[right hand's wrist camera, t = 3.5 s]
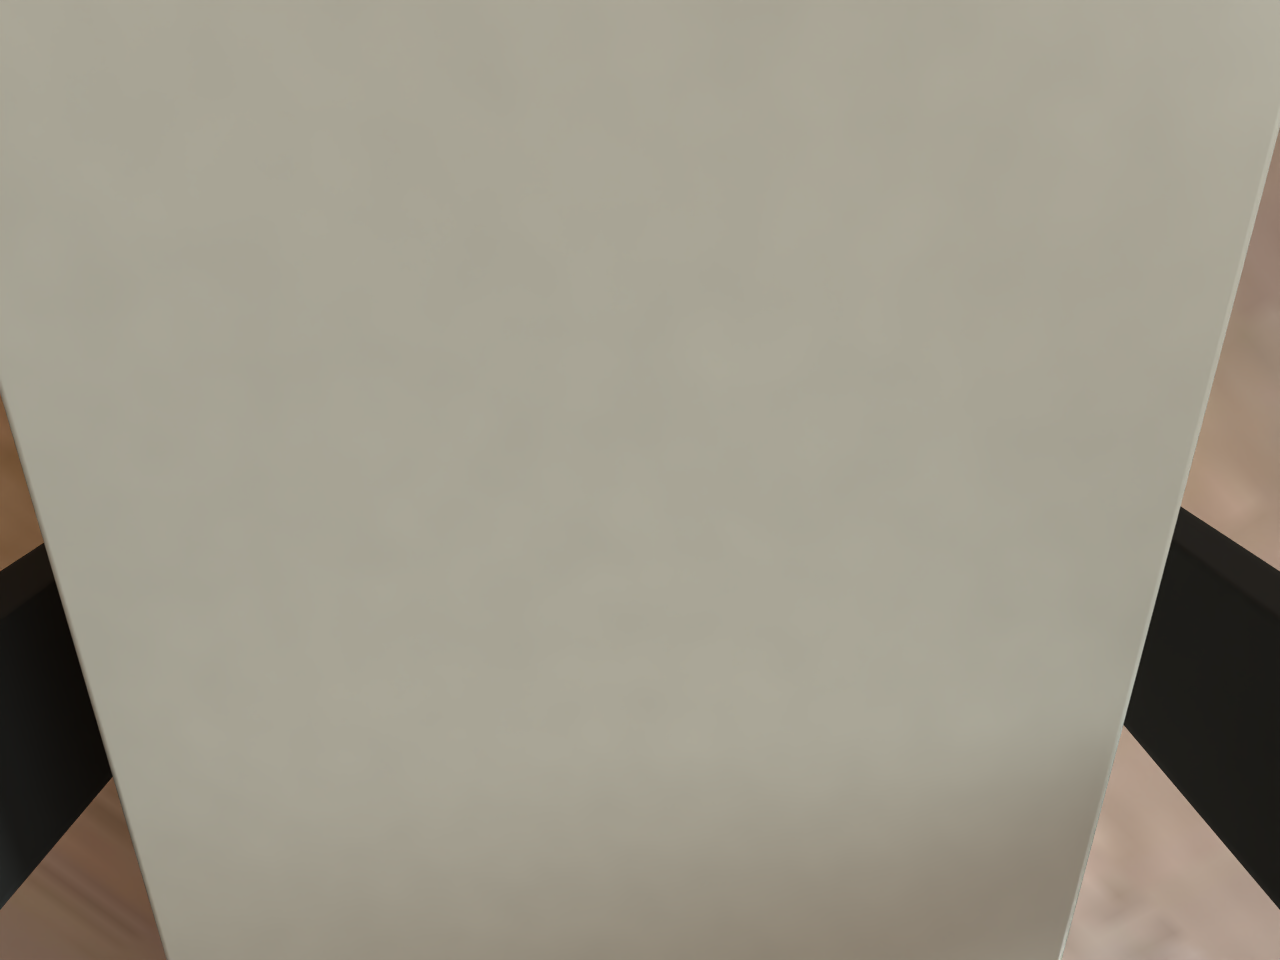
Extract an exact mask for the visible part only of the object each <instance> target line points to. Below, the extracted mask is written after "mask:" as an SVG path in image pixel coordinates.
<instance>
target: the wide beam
mask: <svg viewBox="0 0 1280 960" xmlns="http://www.w3.org/2000/svg"><path fill="white" fill-rule="evenodd" d="M1279 128H1280V0H0V394H1V398H2V401H3V404H4V408H5V411H6V415H7V418H8V421H9V425H10V428H11V432H12V435H13V438H14V442H15V445H16V449H17V452H18V455H19V459H20V462H21V466H22V469H23V472H24V476H25V479H26V483H27V486H28V489H29V493H30V496H31V500H32V503H33V506H34V510H35V513H36V517H37V520H38V523H39V527H40V530H41V534H42V537H43V540H44V544H45V547H46V551H47V554H48V557H49V561H50V564H51V568H52V571H53V574H54V578H55V581H56V585H57V588H58V591H59V595H60V598H61V602H62V605H63V608H64V612H65V615H66V619H67V622H68V626H69V629H70V632H71V636H72V639H73V643H74V646H75V649H76V653H77V656H78V660H79V663H80V666H81V670H82V673H83V677H84V680H85V683H86V687H87V690H88V694H89V697H90V700H91V704H92V707H93V711H94V714H95V717H96V721H97V724H98V728H99V731H100V734H101V738H102V741H103V745H104V748H105V751H106V755H107V758H108V762H109V765H110V768H111V772H112V775H113V779H114V782H115V785H116V789H117V792H118V796H119V799H120V802H121V806H122V809H123V813H124V816H125V819H126V823H127V826H128V830H129V833H130V836H131V840H132V843H133V847H134V850H135V853H136V857H137V860H138V864H139V867H140V870H141V874H142V877H143V881H144V884H145V887H146V891H147V894H148V898H149V901H150V904H151V908H152V911H153V915H154V918H155V921H156V925H157V928H158V932H159V935H160V939H161V942H162V945H163V949H164V952H165V956H166V959H167V960H1062V957H1063V953H1064V949H1065V945H1066V941H1067V938H1068V934H1069V930H1070V926H1071V922H1072V918H1073V915H1074V911H1075V907H1076V903H1077V899H1078V896H1079V892H1080V888H1081V884H1082V880H1083V876H1084V873H1085V869H1086V865H1087V861H1088V857H1089V854H1090V850H1091V846H1092V842H1093V838H1094V834H1095V831H1096V827H1097V823H1098V819H1099V815H1100V812H1101V808H1102V804H1103V800H1104V796H1105V792H1106V789H1107V785H1108V781H1109V777H1110V773H1111V770H1112V766H1113V762H1114V758H1115V754H1116V750H1117V747H1118V743H1119V739H1120V735H1121V731H1122V727H1123V724H1124V720H1125V716H1126V712H1127V708H1128V705H1129V701H1130V697H1131V693H1132V689H1133V685H1134V682H1135V678H1136V674H1137V670H1138V666H1139V663H1140V659H1141V655H1142V651H1143V647H1144V643H1145V640H1146V636H1147V632H1148V628H1149V624H1150V621H1151V617H1152V613H1153V609H1154V605H1155V601H1156V598H1157V594H1158V590H1159V586H1160V582H1161V578H1162V575H1163V571H1164V567H1165V563H1166V559H1167V556H1168V552H1169V548H1170V544H1171V540H1172V536H1173V533H1174V529H1175V525H1176V521H1177V517H1178V514H1179V510H1180V506H1181V502H1182V498H1183V494H1184V491H1185V487H1186V483H1187V479H1188V475H1189V472H1190V468H1191V464H1192V460H1193V456H1194V452H1195V449H1196V445H1197V441H1198V437H1199V433H1200V430H1201V426H1202V422H1203V418H1204V414H1205V410H1206V407H1207V403H1208V399H1209V395H1210V391H1211V387H1212V384H1213V380H1214V376H1215V372H1216V368H1217V365H1218V361H1219V357H1220V353H1221V349H1222V345H1223V342H1224V338H1225V334H1226V330H1227V326H1228V323H1229V319H1230V315H1231V311H1232V307H1233V303H1234V300H1235V296H1236V292H1237V288H1238V284H1239V281H1240V277H1241V273H1242V269H1243V265H1244V261H1245V258H1246V254H1247V250H1248V246H1249V242H1250V239H1251V235H1252V231H1253V227H1254V223H1255V219H1256V216H1257V212H1258V208H1259V204H1260V200H1261V196H1262V193H1263V189H1264V185H1265V181H1266V177H1267V174H1268V170H1269V166H1270V162H1271V158H1272V154H1273V151H1274V147H1275V143H1276V139H1277V135H1278V132H1279Z"/></svg>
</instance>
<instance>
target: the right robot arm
mask: <svg viewBox="0 0 1280 960" xmlns="http://www.w3.org/2000/svg"><path fill="white" fill-rule="evenodd" d="M1123 725H1124V726H1125V727H1126V728H1127V729H1128V731H1129V732H1130V733H1131V734H1132V735H1133V736H1134V738H1135V739H1136V740H1137V741H1138V742H1139V744H1140V745H1141V746H1142V747H1143V748H1144V749H1145V751H1146V752H1147V753H1148V754H1149V755H1150V757H1151V758H1152V759H1153V760H1154V761H1155V762H1156V764H1157V765H1158V766H1159V767H1160V768H1161V770H1162V771H1163V772H1164V773H1165V774H1166V776H1167V777H1168V778H1169V779H1170V780H1171V781H1172V783H1173V784H1174V785H1175V786H1176V787H1177V789H1178V790H1179V791H1180V792H1181V793H1182V794H1183V796H1184V797H1185V798H1186V799H1187V800H1188V802H1189V803H1190V804H1191V805H1192V806H1193V807H1194V809H1195V810H1196V811H1197V812H1198V813H1199V815H1200V816H1201V817H1202V818H1203V819H1204V820H1205V822H1206V823H1207V824H1208V825H1209V826H1210V828H1211V829H1212V830H1213V831H1214V832H1215V833H1216V835H1217V836H1218V837H1219V838H1220V839H1221V841H1222V842H1223V843H1224V844H1225V845H1226V847H1227V848H1228V849H1229V850H1230V851H1231V852H1232V854H1233V855H1234V856H1235V857H1236V858H1237V860H1238V861H1239V862H1240V863H1241V864H1242V865H1243V867H1244V868H1245V869H1246V870H1247V871H1248V873H1249V874H1250V875H1251V876H1252V877H1253V878H1254V880H1255V881H1256V882H1257V883H1258V884H1259V886H1260V887H1261V888H1262V889H1263V890H1264V891H1265V893H1266V894H1267V895H1268V896H1269V897H1270V899H1271V900H1272V901H1273V902H1274V903H1275V905H1276V906H1277V907H1278V908H1279V909H1280V571H1278V570H1277V569H1275V568H1274V567H1272V566H1271V565H1269V564H1268V563H1266V562H1265V561H1263V560H1261V559H1260V558H1258V557H1257V556H1255V555H1254V554H1252V553H1251V552H1249V551H1248V550H1246V549H1245V548H1243V547H1242V546H1240V545H1239V544H1237V543H1236V542H1234V541H1232V540H1231V539H1229V538H1228V537H1226V536H1225V535H1223V534H1222V533H1220V532H1219V531H1217V530H1216V529H1214V528H1213V527H1211V526H1210V525H1208V524H1207V523H1205V522H1203V521H1202V520H1200V519H1199V518H1197V517H1196V516H1194V515H1193V514H1191V513H1190V512H1188V511H1187V510H1185V509H1184V508H1182V507H1181V506H1180V510H1179V514H1178V517H1177V521H1176V525H1175V529H1174V533H1173V536H1172V540H1171V544H1170V548H1169V552H1168V556H1167V559H1166V563H1165V567H1164V571H1163V575H1162V578H1161V582H1160V586H1159V590H1158V594H1157V598H1156V601H1155V605H1154V609H1153V613H1152V617H1151V621H1150V624H1149V628H1148V632H1147V636H1146V640H1145V643H1144V647H1143V651H1142V655H1141V659H1140V663H1139V666H1138V670H1137V674H1136V678H1135V682H1134V685H1133V689H1132V693H1131V697H1130V701H1129V705H1128V708H1127V712H1126V716H1125V720H1124V724H1123ZM112 777H113V775H112V772H111V768H110V765H109V762H108V758H107V755H106V751H105V748H104V745H103V741H102V738H101V734H100V731H99V728H98V724H97V721H96V717H95V714H94V711H93V707H92V704H91V700H90V697H89V694H88V690H87V687H86V683H85V680H84V677H83V673H82V670H81V666H80V663H79V660H78V656H77V653H76V649H75V646H74V643H73V639H72V636H71V632H70V629H69V626H68V622H67V619H66V615H65V612H64V608H63V605H62V602H61V598H60V595H59V591H58V588H57V585H56V581H55V578H54V574H53V571H52V568H51V564H50V561H49V557H48V554H47V551H46V547H45V544H44V543H43V544H41V545H40V546H38V547H37V548H35V549H34V550H32V551H31V552H29V553H28V554H26V555H25V556H23V557H22V558H20V559H19V560H17V561H15V562H14V563H12V564H11V565H9V566H8V567H6V568H5V569H3V570H2V571H0V909H1V908H2V907H3V906H4V905H5V903H6V902H7V901H8V900H9V899H10V897H11V896H12V895H13V894H14V893H15V891H16V890H17V889H18V888H19V887H20V886H21V884H22V883H23V882H24V881H25V880H26V878H27V877H28V876H29V875H30V874H31V873H32V871H33V870H34V869H35V868H36V867H37V865H38V864H39V863H40V862H41V861H42V860H43V858H44V857H45V856H46V855H47V854H48V852H49V851H50V850H51V849H52V848H53V847H54V845H55V844H56V843H57V842H58V841H59V839H60V838H61V837H62V836H63V835H64V833H65V832H66V831H67V830H68V829H69V828H70V826H71V825H72V824H73V823H74V822H75V820H76V819H77V818H78V817H79V816H80V815H81V813H82V812H83V811H84V810H85V809H86V807H87V806H88V805H89V804H90V803H91V802H92V800H93V799H94V798H95V797H96V796H97V794H98V793H99V792H100V791H101V790H102V789H103V787H104V786H105V785H106V784H107V783H108V781H109V780H110V779H111V778H112Z"/></svg>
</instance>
